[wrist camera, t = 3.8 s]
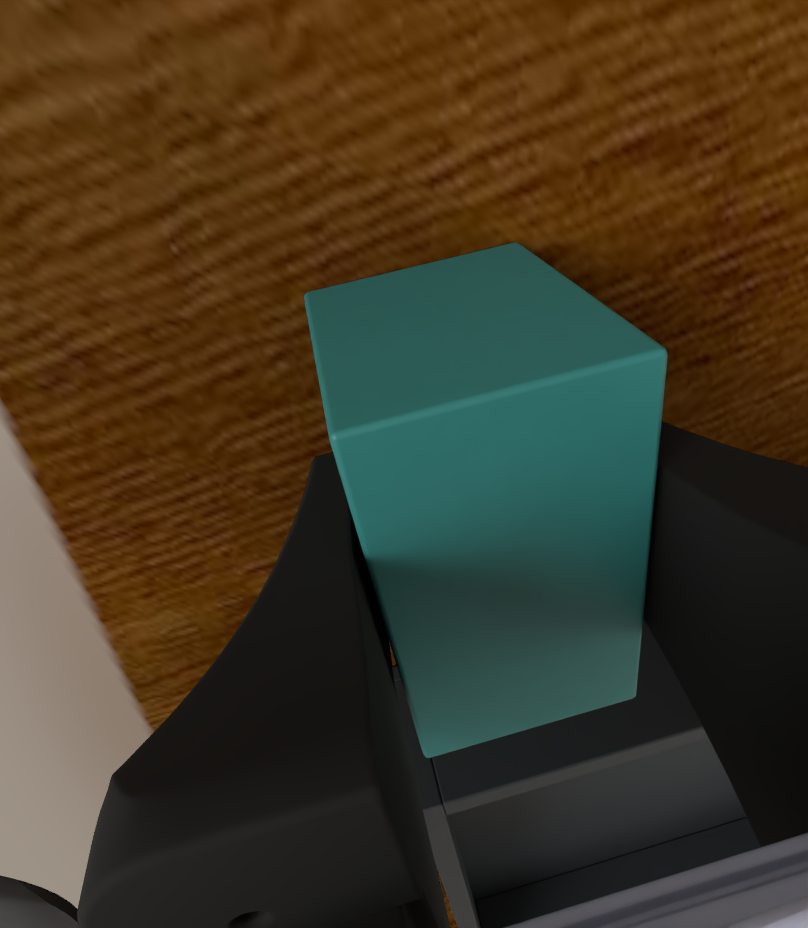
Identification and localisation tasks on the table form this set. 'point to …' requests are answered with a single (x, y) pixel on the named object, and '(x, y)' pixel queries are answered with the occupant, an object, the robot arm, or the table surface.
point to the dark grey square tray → (578, 804)
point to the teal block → (495, 484)
